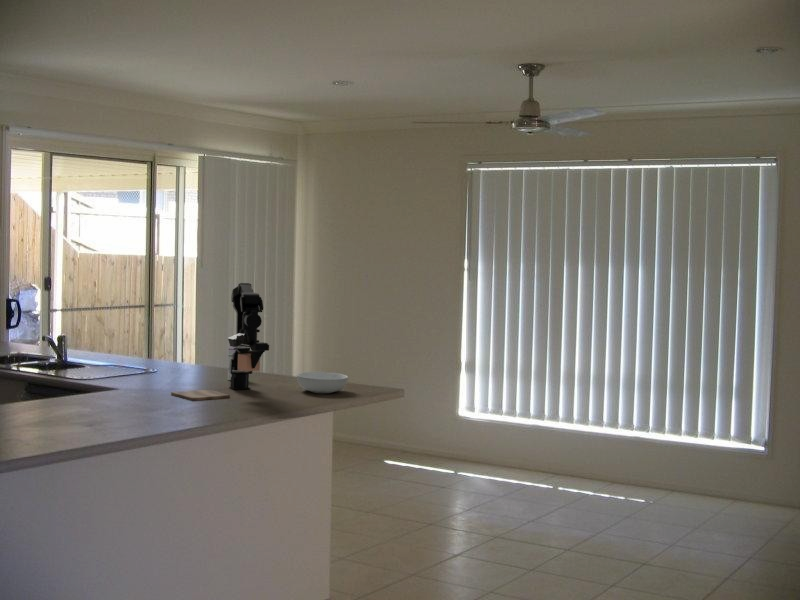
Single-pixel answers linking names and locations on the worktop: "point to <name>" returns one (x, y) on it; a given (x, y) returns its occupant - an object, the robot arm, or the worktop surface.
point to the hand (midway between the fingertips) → (248, 367)
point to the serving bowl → (322, 381)
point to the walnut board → (200, 395)
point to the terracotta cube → (246, 363)
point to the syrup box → (230, 353)
